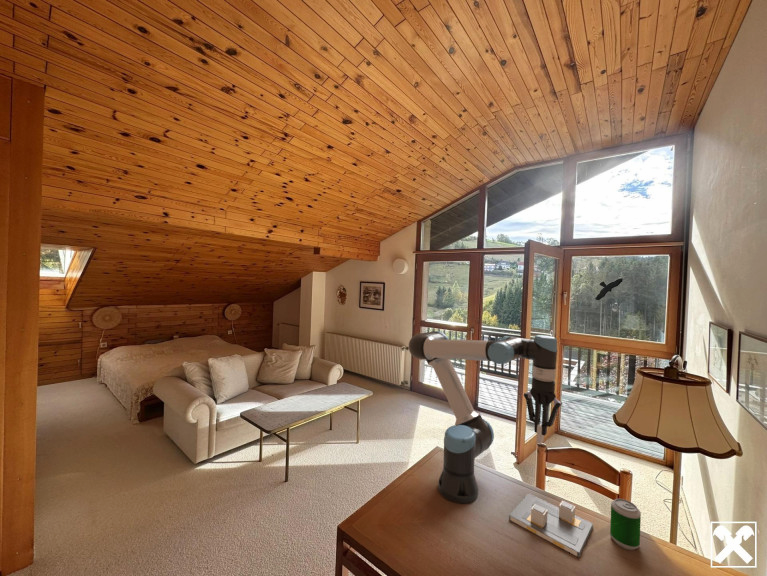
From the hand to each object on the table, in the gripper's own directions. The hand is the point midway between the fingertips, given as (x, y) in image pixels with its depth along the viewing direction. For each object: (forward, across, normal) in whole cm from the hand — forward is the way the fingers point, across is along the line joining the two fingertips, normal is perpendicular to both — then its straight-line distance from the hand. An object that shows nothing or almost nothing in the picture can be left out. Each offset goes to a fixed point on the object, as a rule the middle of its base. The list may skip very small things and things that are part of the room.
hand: (539, 442), depth 117 cm
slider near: (+21, +5, -11) cm, 24 cm away
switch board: (+23, +7, -6) cm, 25 cm away
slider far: (+21, +10, -2) cm, 24 cm away
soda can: (+23, +26, +3) cm, 35 cm away
